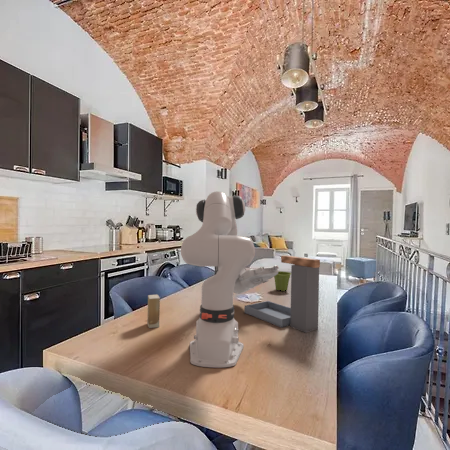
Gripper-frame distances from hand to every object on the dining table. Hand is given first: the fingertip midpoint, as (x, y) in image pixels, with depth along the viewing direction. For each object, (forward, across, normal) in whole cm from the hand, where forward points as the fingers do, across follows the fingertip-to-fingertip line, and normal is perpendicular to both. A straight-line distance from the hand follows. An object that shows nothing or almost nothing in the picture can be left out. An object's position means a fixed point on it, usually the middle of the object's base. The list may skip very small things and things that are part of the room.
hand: (270, 267), depth 138 cm
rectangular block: (+17, 0, +5) cm, 17 cm away
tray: (-8, 0, +21) cm, 23 cm away
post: (+6, 0, +30) cm, 30 cm away
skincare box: (-26, -51, +11) cm, 58 cm away
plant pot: (-39, +44, +4) cm, 59 cm away
